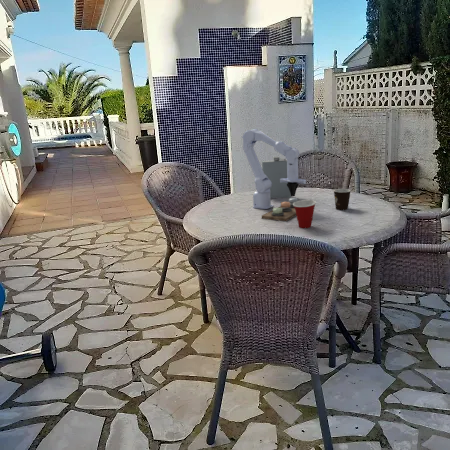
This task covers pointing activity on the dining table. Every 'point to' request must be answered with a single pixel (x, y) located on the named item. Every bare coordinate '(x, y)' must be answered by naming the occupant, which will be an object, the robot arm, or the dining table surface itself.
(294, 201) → the slate button
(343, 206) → the coffee mug
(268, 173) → the grey upright box
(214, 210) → the dining table surface
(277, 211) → the sage button
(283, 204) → the terracotta button
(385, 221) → the dining table surface
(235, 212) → the dining table surface
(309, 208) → the plastic cup
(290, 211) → the button board
